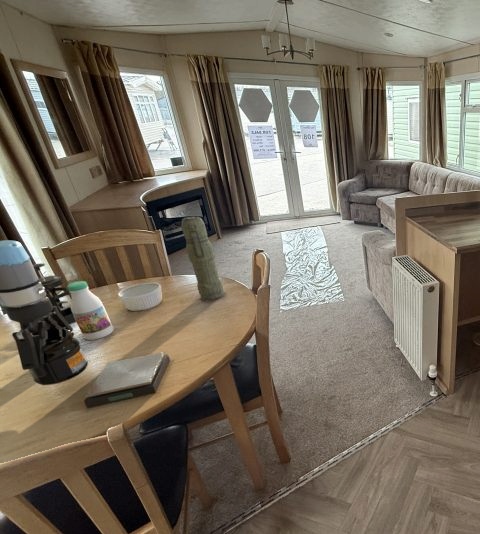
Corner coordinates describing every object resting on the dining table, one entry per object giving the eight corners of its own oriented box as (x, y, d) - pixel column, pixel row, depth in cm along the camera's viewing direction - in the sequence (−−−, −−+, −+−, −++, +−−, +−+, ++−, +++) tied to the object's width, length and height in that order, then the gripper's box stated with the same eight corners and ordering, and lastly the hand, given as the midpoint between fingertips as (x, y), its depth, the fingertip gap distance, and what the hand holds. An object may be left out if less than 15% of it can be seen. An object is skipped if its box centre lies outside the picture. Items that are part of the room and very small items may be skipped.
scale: (86, 408, 90) (83, 401, 89) (110, 372, 103) (107, 365, 102) (155, 393, 95) (152, 386, 94) (170, 360, 108) (168, 354, 107)
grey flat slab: (86, 397, 89) (84, 395, 89) (108, 364, 101) (107, 362, 101) (150, 383, 95) (150, 381, 94) (165, 354, 106) (164, 351, 106)
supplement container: (99, 360, 100) (84, 326, 96) (69, 385, 91) (50, 349, 86) (58, 362, 99) (40, 328, 94) (23, 388, 89) (2, 352, 84)
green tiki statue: (202, 304, 140) (178, 223, 125) (199, 293, 148) (176, 215, 134) (226, 298, 145) (206, 219, 131) (222, 287, 153) (202, 212, 139)
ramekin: (154, 294, 146) (149, 279, 144) (172, 301, 141) (167, 286, 138) (117, 307, 136) (110, 292, 133) (135, 316, 130) (128, 300, 128)
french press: (42, 332, 120) (11, 273, 110) (43, 321, 126) (13, 265, 116) (88, 319, 128) (62, 264, 118) (87, 310, 133) (62, 256, 124)
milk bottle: (84, 333, 120) (60, 283, 112) (113, 325, 125) (92, 276, 116) (84, 343, 115) (58, 291, 106) (114, 334, 119) (92, 284, 111)
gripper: (16, 322, 77) (56, 395, 86) (69, 280, 96) (97, 343, 105) (-31, 328, 74) (16, 403, 83) (33, 283, 94) (65, 348, 102)
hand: (61, 369), depth 94 cm, fingers closed on supplement container, 11 cm apart
